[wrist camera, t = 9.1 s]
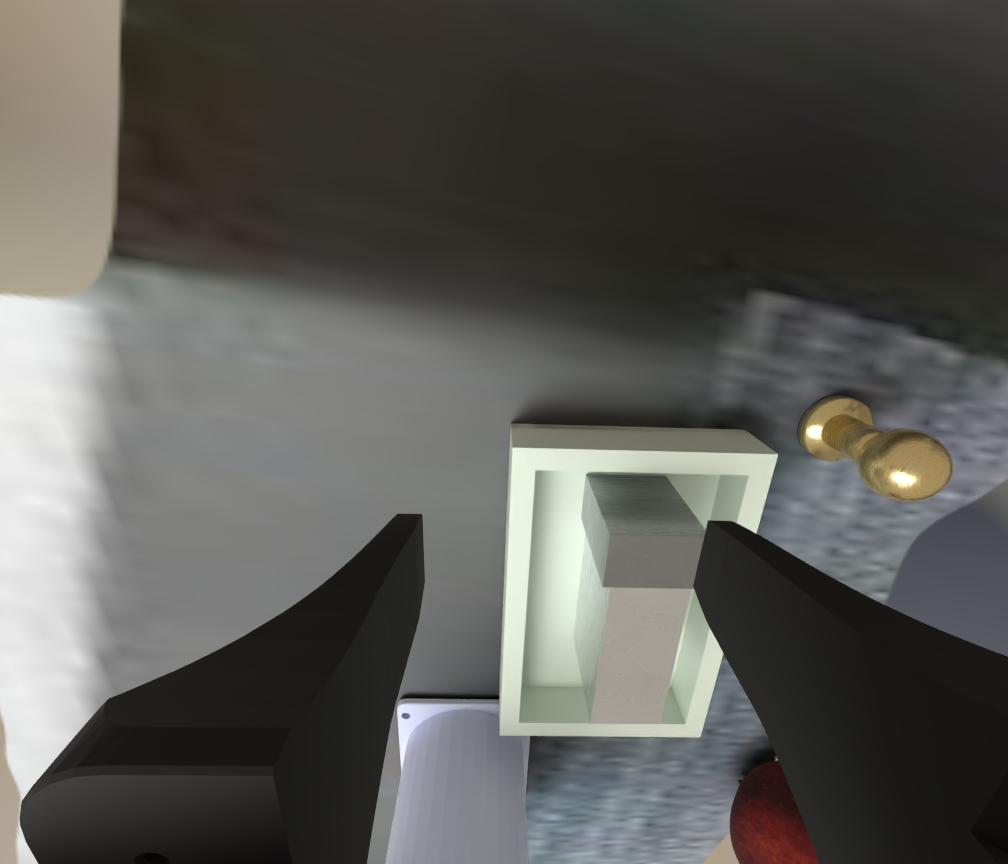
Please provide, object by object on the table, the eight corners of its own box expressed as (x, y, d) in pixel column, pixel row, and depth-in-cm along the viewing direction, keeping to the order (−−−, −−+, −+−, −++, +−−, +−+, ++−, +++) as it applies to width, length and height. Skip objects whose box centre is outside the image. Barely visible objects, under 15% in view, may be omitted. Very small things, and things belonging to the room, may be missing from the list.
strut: (636, 638, 26) (667, 724, 21) (567, 637, 26) (583, 723, 21) (665, 476, 22) (711, 537, 17) (585, 474, 22) (609, 535, 17)
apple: (805, 810, 33) (896, 976, 25) (696, 807, 32) (755, 975, 25) (839, 737, 30) (953, 899, 22) (720, 733, 30) (796, 896, 22)
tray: (681, 691, 28) (700, 737, 26) (499, 689, 28) (499, 735, 25) (744, 429, 22) (778, 454, 19) (510, 423, 22) (512, 447, 19)
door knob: (851, 455, 22) (958, 518, 17) (790, 454, 22) (879, 517, 17) (871, 396, 21) (992, 444, 16) (807, 394, 21) (907, 442, 16)
